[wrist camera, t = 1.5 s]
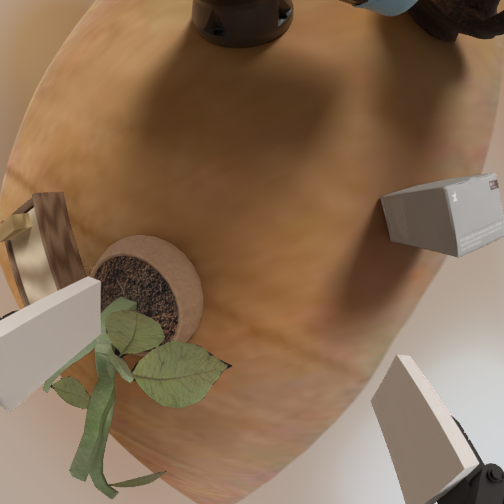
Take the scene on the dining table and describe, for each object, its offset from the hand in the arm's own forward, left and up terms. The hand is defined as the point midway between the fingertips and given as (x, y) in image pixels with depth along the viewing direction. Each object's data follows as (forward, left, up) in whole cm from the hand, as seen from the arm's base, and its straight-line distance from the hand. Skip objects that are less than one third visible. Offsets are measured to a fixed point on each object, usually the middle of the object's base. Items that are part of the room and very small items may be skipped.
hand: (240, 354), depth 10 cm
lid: (-7, -36, -20) cm, 42 cm away
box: (-8, -36, -26) cm, 45 cm away
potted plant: (+3, -15, -26) cm, 30 cm away
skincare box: (0, +21, -26) cm, 33 cm away
